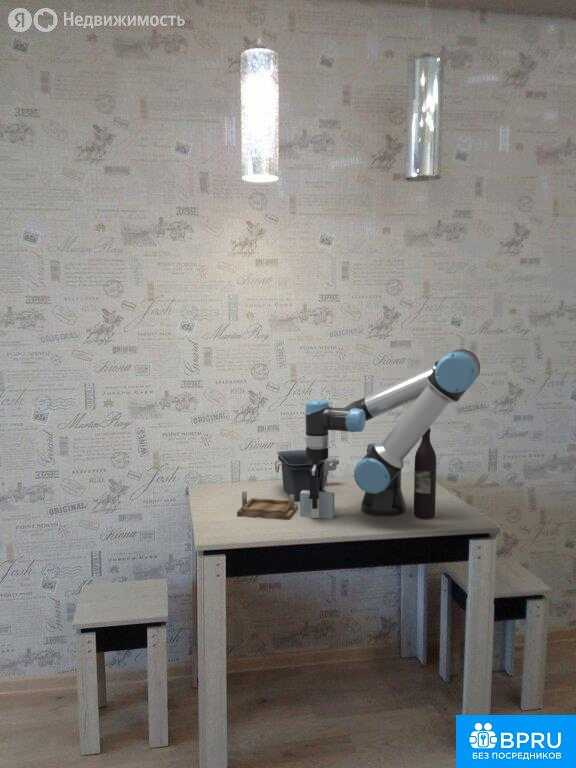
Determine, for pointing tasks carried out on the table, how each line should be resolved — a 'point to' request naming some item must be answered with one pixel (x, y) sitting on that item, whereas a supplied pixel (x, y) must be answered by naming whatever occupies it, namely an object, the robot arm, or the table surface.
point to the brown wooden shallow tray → (267, 507)
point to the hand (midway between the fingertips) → (316, 514)
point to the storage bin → (294, 471)
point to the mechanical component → (329, 468)
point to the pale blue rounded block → (324, 504)
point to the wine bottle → (425, 479)
